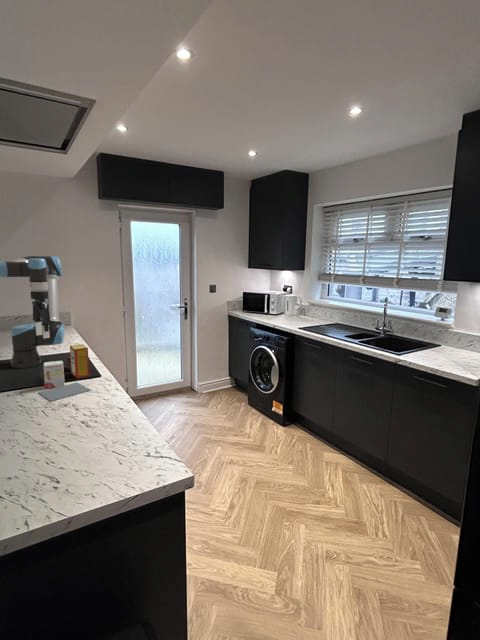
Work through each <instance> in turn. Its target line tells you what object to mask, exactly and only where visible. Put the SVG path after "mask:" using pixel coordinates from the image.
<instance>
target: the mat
mask: <svg viewBox="0 0 480 640" xmlns="http://www.w3.org/2000/svg"><path fill="white" fill-rule="evenodd" d="M90 391H91V389H89V387H86V386H85V385H82V384H81V383H78V382H74V383H69V384H65V386H61V387H54V388H48V389H45V390H42V391H39V392H38V394H39V395H40V396H42V397H43V398H45V399H46V400H47V401H49V402H55V401H59V400H62V399H66V398H69V397H73V396H76V395H79V394H83V393H86V392H90Z"/></svg>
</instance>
